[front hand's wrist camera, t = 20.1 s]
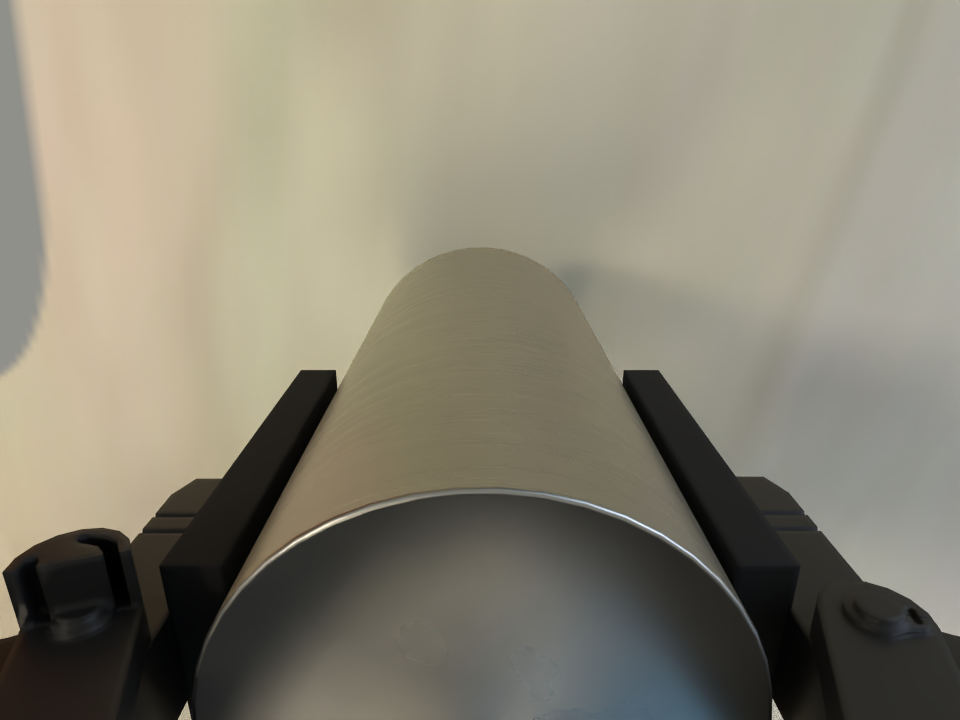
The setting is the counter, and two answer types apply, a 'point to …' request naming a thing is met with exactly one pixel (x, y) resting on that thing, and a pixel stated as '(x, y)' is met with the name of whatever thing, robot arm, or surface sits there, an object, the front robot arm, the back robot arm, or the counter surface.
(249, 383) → the counter surface
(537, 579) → the tin
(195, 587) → the front robot arm
